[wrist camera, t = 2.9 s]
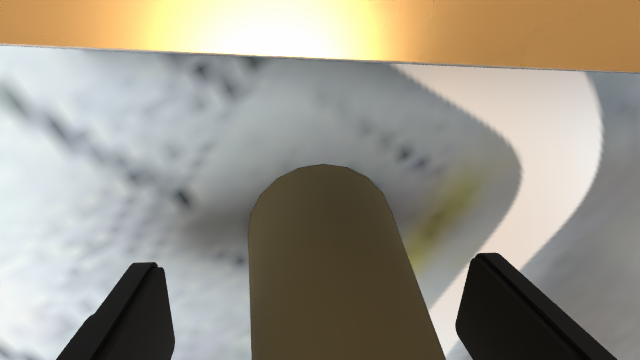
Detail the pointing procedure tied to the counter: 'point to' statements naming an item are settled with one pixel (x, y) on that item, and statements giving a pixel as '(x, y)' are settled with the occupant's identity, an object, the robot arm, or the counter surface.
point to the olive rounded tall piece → (332, 273)
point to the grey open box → (344, 30)
